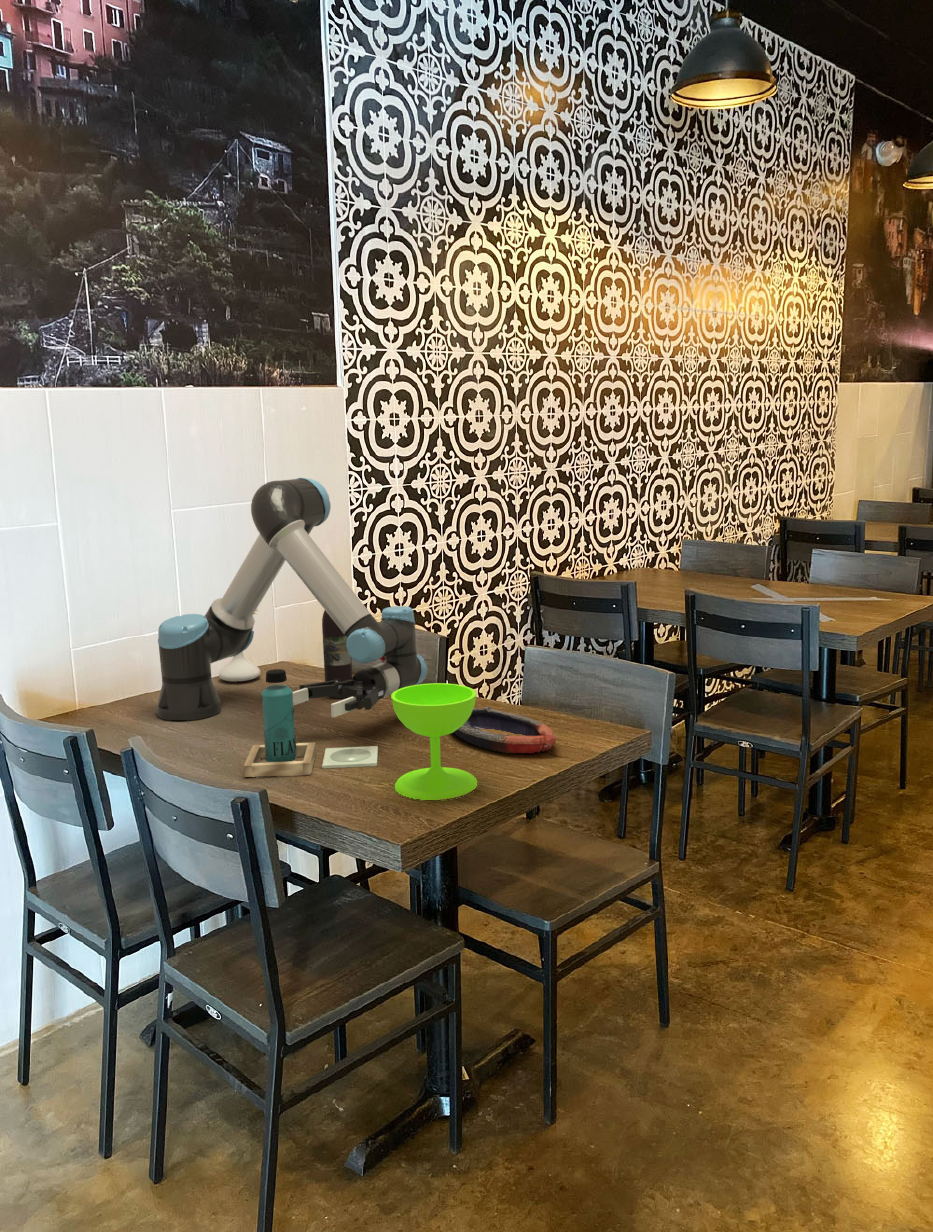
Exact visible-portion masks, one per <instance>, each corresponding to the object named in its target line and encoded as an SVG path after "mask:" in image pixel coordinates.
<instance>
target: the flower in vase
mask: <svg viewBox="0 0 933 1232" xmlns="http://www.w3.org/2000/svg"><path fill="white" fill-rule="evenodd" d="M257 612H259V608H258V607H257V609H256V611H255V612H254V614H253V615H257ZM261 672H262V671H261V670H260V668H259V667H258V666H257V665H255V664H254V663H253V662H251V661H250V660H248V659H247V658H246V657H245V655H244V651H242V652H241V653H239V654H238V655H235V656H233V657H232V658H231V660H230V661H229V662H228V663H227V664H226V665H224V667H223V668H221V670H220V671H219V673H218V677H219V678H220V679H221V680H223V681H227V682H234V683H237V682H238V681H239V682H246V681H252V680H253V679H256V678H257V677H259V676H260V675H261Z"/></svg>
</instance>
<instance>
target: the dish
mask: <svg viewBox="0 0 933 1232" xmlns="http://www.w3.org/2000/svg"><path fill="white" fill-rule="evenodd" d="M479 729H495V730H501V731H506V732H511V733H514V734H522V735H525V736H509V735H500V734H494V733H490V732H486V731H482V730H479ZM453 733H454V735H456V736H457V737H458V738H459V739H461V740H463V741H464V742H468V743H469V744H471V745H474V746H476V747H480V748H483V749H486V750H489V749H490V750H491V751H493V750H495V751H494V752H498V751H500V752H499V753H504V752H508V753H507V754H516V753H529V754H536V753H535V752H537V753H541V752H540V751H542V752H546V751H548V750H550V749H551V748H552V747H553V745H554V744H555V743H557V738H556V737H557V736H554V731H553V730H552V729H551V728H550V727H549V726H548V725H546V724H545V723H543V722H541V721H538V720H535V719H533V718H529V717H527V716H524V715H521V714H520V715H519V714H515V713H511V712H506V711H502V710H498V709H493V708H491V707H490V706H485V707H483V708H479V707H477V708H475V707H474V708H473V711H472V713H471V715H470V717H469V718H468V720H467V721H466V722H465V724H464V725H463V726H461V727H460V728H458V729H457V730H456V731H454V732H453ZM545 750H546V751H545Z"/></svg>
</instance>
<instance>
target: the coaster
mask: <svg viewBox="0 0 933 1232" xmlns="http://www.w3.org/2000/svg"><path fill="white" fill-rule="evenodd" d="M378 748H379V747H378V745H375V746H374V745H373V746H372V745H371V746H351V747H346V746H345V747H329V748H328V747H327V748H326V747H325V751H324V756H323V760H322V765H321V768H322V769H339V768H343V769H344V768H363V767H377V766H378V754H379V753H378V752H379V749H378Z"/></svg>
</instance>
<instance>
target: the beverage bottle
mask: <svg viewBox="0 0 933 1232" xmlns="http://www.w3.org/2000/svg"><path fill="white" fill-rule="evenodd" d="M287 678H288V677H287V673H286V670H285V669H282V668H280V669H279V668H277V669H276V668H275V669H269V670H267V671H266V672H265V682H266V683H269V684H272V685H269V686H267V687H265V689H264V690H262V692H261V693H260V694H261V703H262V715H263V716H262V717H263V719H262V720H263V737H264V745H265V758H264V759H265V760H266V762H287V761H296V758H297V757H296V753H297V752H296V743H297V740H296V734H297V733H296V731H297V730H296V727H295V725H296V723H295V708H294V706H295V705H293V696H292V694H293V692H294V691H293V689H292V688H291V687H289V686H288V685H287V684H281V683H285V682H287Z"/></svg>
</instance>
